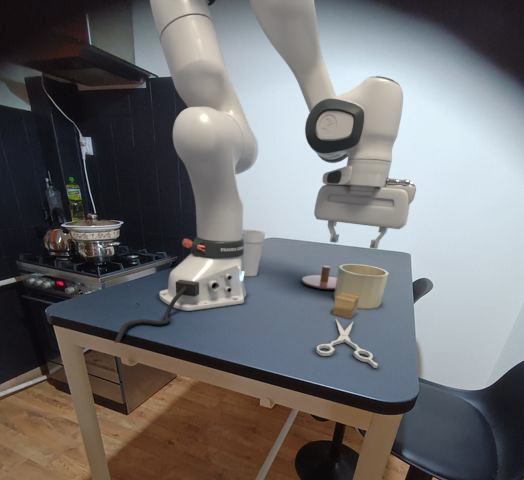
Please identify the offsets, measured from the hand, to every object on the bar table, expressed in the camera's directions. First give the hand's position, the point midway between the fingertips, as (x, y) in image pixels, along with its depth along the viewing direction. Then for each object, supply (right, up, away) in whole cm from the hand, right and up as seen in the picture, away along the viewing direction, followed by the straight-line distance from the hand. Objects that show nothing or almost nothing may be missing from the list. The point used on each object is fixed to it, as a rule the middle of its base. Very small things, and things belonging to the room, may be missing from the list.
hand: (353, 245), depth 73 cm
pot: (+5, -11, +14) cm, 18 cm away
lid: (-2, -3, +25) cm, 26 cm away
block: (-1, -16, +4) cm, 16 cm away
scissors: (-4, -22, -9) cm, 25 cm away
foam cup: (-26, +1, +31) cm, 40 cm away
